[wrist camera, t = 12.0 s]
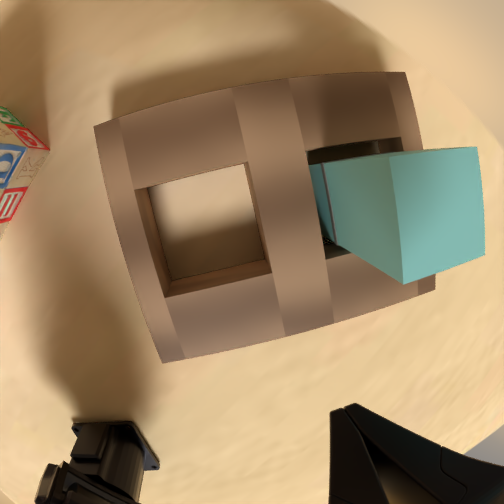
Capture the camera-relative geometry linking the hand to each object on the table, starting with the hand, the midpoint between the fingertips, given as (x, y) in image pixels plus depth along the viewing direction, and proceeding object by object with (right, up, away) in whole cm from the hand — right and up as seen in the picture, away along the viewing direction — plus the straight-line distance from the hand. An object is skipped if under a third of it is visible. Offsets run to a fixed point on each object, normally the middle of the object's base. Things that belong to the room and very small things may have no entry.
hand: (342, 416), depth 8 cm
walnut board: (-1, +8, +11) cm, 13 cm away
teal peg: (+3, +9, +11) cm, 15 cm away
